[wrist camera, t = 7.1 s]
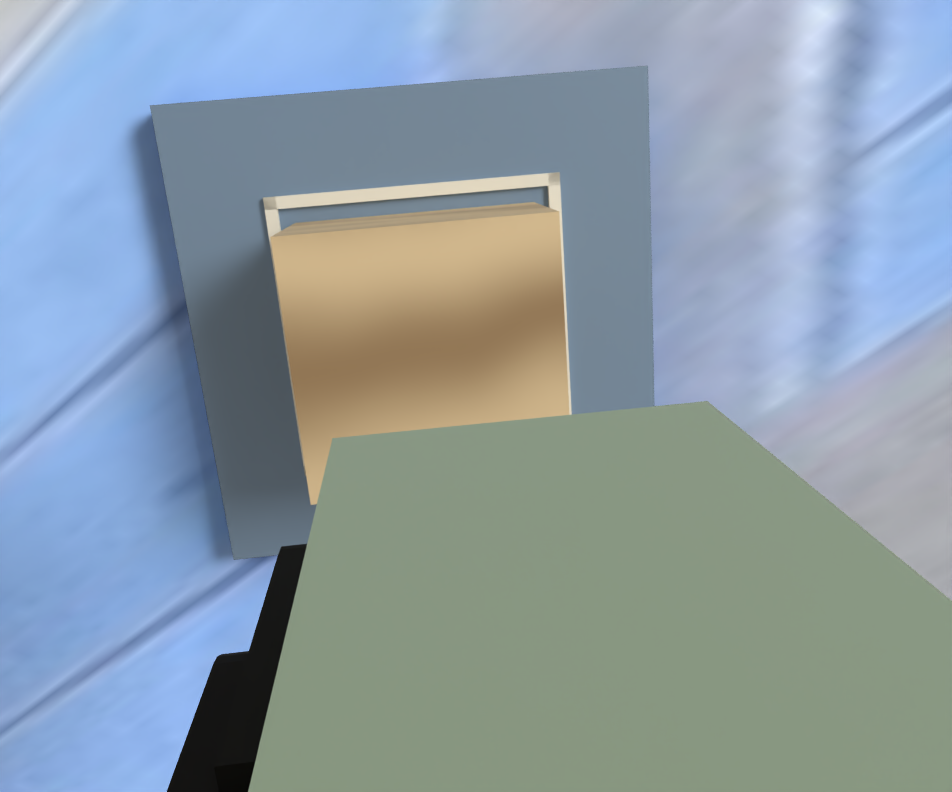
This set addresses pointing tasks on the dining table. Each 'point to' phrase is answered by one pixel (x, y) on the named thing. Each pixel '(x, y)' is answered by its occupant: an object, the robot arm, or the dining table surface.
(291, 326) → the oak block
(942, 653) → the sage brick
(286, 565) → the robot arm
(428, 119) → the board
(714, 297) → the dining table surface
